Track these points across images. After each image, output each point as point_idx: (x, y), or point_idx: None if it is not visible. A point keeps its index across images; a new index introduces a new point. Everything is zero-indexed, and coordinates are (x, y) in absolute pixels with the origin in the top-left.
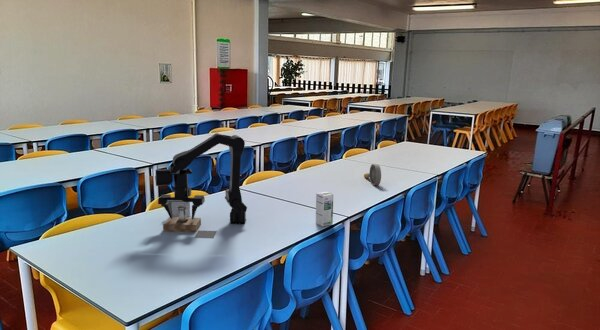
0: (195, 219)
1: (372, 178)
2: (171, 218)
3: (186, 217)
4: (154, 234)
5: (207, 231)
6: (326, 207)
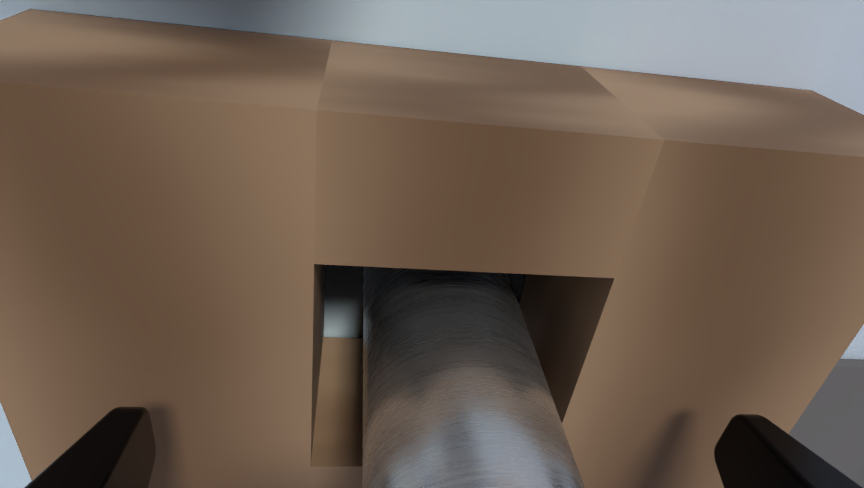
0: (786, 287)
1: None
2: (147, 463)
3: (549, 137)
4: (28, 475)
5: (829, 392)
6: None
